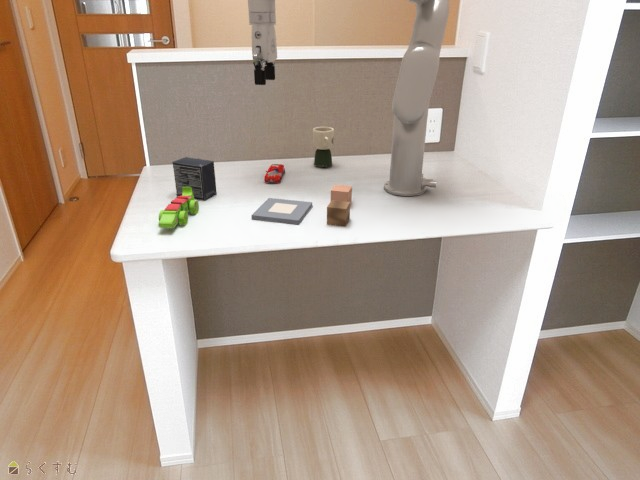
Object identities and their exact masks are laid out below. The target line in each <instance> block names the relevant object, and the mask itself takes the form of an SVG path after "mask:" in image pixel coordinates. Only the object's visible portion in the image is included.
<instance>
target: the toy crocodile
mask: <svg viewBox="0 0 640 480" xmlns="http://www.w3.org/2000/svg"><path fill="white" fill-rule="evenodd" d="M199 207H200V204H199V200H198V199H194V195H193V191H192V188H191V187H183V189H182V196H176V198H174V199H172V200H170V203H168V204H167V205H166V206H165V208H164V209H162V210H160V211H159V214H158V226H159V229H175V227H176V226H177V225H178V224H179V225H180V226H187V224H188V221H189V215H188V214H189V213H190V214H191V215H197V214H198V213H199V209H200V208H199Z"/></svg>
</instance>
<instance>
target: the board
mask: <svg viewBox="0 0 640 480" xmlns="http://www.w3.org/2000/svg"><path fill="white" fill-rule="evenodd" d="M312 208H313V202H312V201H304V200H294V199H293V200H292V199H283V198H275V197H274V198H273V197H268V198H267V199H266V200H264V202H263V203H262V204H261V205H260V206H259V207H258V208H257V209H256V210H255V211H254V212H253V213H252V214H251V220H256V221H261V222H263V221H264V222H271V223H272V222H273V223H283V224H290V225H300V224H301V222H302V221H303V220H304V218H305V217H306V216H307V214H308V213H309V212H310V210H311V209H312Z"/></svg>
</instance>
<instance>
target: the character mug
mask: <svg viewBox="0 0 640 480" xmlns="http://www.w3.org/2000/svg"><path fill="white" fill-rule="evenodd" d="M334 132H335V129H334V128H333V127H330V126H316V127H314V128H312V147H313V148H314V149H316V150H315V153H314V161H313V165H314V166H316V167H323V168H326V167H332V165H333V158H332V151H331V149H332V148H333V147H334V146H335V145H334V140H335V138H334V137H335V135H334V134H335V133H334Z"/></svg>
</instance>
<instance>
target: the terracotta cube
mask: <svg viewBox="0 0 640 480" xmlns="http://www.w3.org/2000/svg"><path fill="white" fill-rule="evenodd" d="M352 198H353V186H352V185H344V184H343V185H342V184H334V185H333V187H332V188H331V189H330V201H331V200H335V201H345V202H350V205H351V204H352V202H353V201H352V200H353V199H352Z"/></svg>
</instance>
